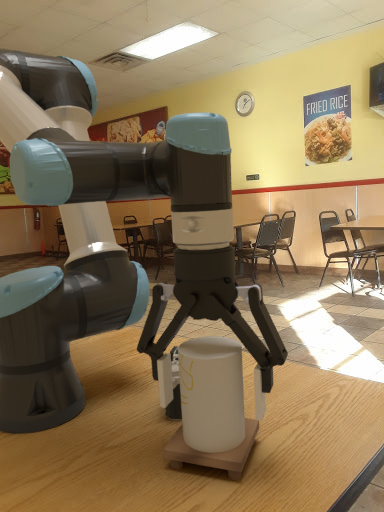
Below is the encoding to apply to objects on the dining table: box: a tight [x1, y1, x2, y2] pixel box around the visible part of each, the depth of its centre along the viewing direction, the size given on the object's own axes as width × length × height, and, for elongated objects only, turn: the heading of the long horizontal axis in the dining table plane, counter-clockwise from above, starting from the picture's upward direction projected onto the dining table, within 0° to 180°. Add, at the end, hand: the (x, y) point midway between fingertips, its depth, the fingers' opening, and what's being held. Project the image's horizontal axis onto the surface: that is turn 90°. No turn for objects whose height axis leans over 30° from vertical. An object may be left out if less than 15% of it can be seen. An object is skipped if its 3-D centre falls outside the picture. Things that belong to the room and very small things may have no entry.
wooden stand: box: [162, 417, 260, 481], centre depth 58 cm, size 10×10×3 cm
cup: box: [178, 335, 246, 453], centre depth 56 cm, size 8×8×12 cm
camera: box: [164, 345, 182, 421], centre depth 74 cm, size 16×9×10 cm, turn 167°
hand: (212, 408), depth 57 cm, fingers open, 12 cm apart
